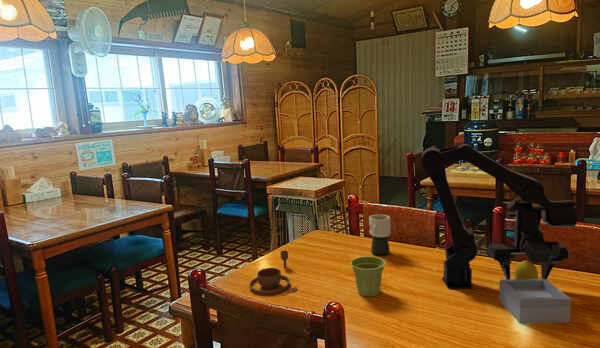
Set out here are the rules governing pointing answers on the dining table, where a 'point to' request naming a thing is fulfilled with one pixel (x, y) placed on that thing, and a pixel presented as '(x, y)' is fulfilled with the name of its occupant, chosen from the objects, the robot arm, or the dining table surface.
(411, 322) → the dining table surface
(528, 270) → the lemon
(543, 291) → the grey open box
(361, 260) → the plant pot
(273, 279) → the place setting
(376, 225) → the character mug
